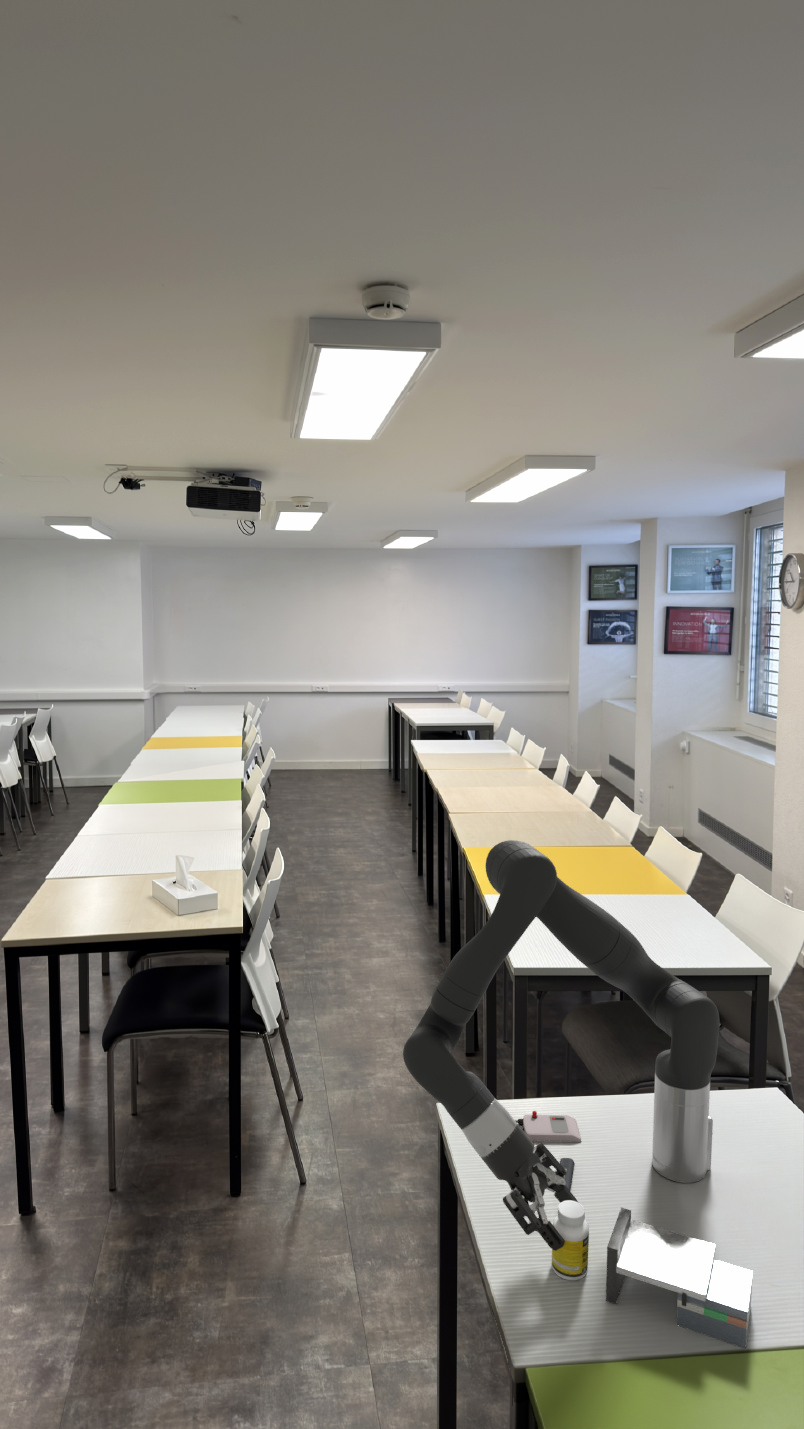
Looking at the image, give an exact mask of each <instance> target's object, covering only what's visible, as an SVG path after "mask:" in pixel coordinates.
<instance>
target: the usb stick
mask: <svg viewBox="0 0 804 1429" xmlns="http://www.w3.org/2000/svg"><path fill="white" fill-rule="evenodd" d="M559 1163H560V1164H561V1165H562V1167H563V1168H564V1169H565V1170H566V1175H565V1176H564V1180H565V1182H566V1187H567V1188H568V1189H569V1190H570V1192H572V1191H571V1190H572V1184H573V1177H574V1171H575V1161H574V1159H573V1158H570V1157H562V1158H560V1160H559Z"/></svg>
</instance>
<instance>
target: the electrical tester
mask: <svg viewBox="0 0 804 1429" xmlns="http://www.w3.org/2000/svg"><path fill="white" fill-rule="evenodd" d="M537 1113H538V1112H537V1111H536V1110H533V1111H532V1113H531V1114H524V1115H523V1118H518V1119H514V1120H515V1121H516V1122H517V1124H518V1125H519V1126H520V1125H522V1127H521V1129H522V1130H523V1131H524V1132H525V1134H526V1135H527V1136H528V1137H529V1139H530V1140H531V1141H532V1142H553V1143H554V1142H559V1143H560V1142H563V1143H564V1142H565V1143H581V1142H582V1137H581V1133H580V1132H581V1131H580V1130H579V1129H580V1128H579V1126H578V1121H577V1120H576V1118H575V1117H574V1116H573V1117H572V1116H570V1115H568V1114H567V1115H566V1114H537Z"/></svg>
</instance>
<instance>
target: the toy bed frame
mask: <svg viewBox="0 0 804 1429" xmlns="http://www.w3.org/2000/svg"><path fill="white" fill-rule="evenodd" d="M715 1253H716V1244H715V1243H712V1242H708V1241H705V1240H702V1239H698V1238H695V1237H691V1236H688V1235H686V1234H682V1233H677V1232H675V1231H671V1230H668V1229H665V1228H661V1227H657V1226H655V1225H651V1224H648V1223H644V1222H642V1221H638V1220H635V1219H632V1209H628V1208H625V1207H620V1210H619V1212H618V1215H617V1218H616V1221H615V1224H614V1227H613V1229H612V1233H611V1236H610V1237H609V1241H608V1244H607V1246H606V1284H605V1301H606V1302H609V1303H612V1304H615V1305H617V1304H618V1302H619V1301H618V1300H619V1298H620V1294H621V1291H622V1287H623V1284H624V1281H625V1278H626V1277H629V1278H632V1279H635V1280H638V1281H641V1282H644V1283H647V1284H650V1285H654V1286H656V1287H659V1288H662V1289H664V1290H665V1289H666V1290H669V1291H672V1292H675V1293H677V1294H678V1293H681V1294H682V1305H683V1306H686V1305H687V1296H690V1297H693V1298H696V1299H699V1300H702V1301H706V1296H707V1290H708V1285H709V1280H710V1274H711V1269H712V1264H713V1259H714V1257H715Z"/></svg>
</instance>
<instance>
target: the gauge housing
mask: <svg viewBox="0 0 804 1429" xmlns="http://www.w3.org/2000/svg"><path fill="white" fill-rule="evenodd" d="M753 1272H754V1271H753V1270H750V1269H747V1268H744V1267H740V1266H737V1265H733V1264H730V1263H727V1262H724V1261H721V1260H717V1259H714V1258H713V1264H712V1269H711V1274H710V1280H709V1285H708V1290H707V1296H706V1301H702V1300H699V1299H696V1298H693V1297H690V1296H687V1305H686V1306H683V1305H682V1294H681V1293H678V1292H677V1301H676V1303H677V1304H676V1308H677V1309H676V1310H677V1311H676V1326H678V1325H679V1326H678V1327H681V1326H682V1328H684V1329H686V1328H688V1329H687V1330H689V1329H690V1330H689V1331H692V1332H695V1333H698V1334H701V1335H705V1336H706V1337H707V1336H708V1337H711V1338H713V1339H716V1340H720V1341H721V1342H722V1341H723V1342H725V1343H727V1344H731V1345H734V1346H737V1347H740V1348H743V1349H746V1348H747V1341H748V1333H749V1332H748V1331H749V1325H750V1324H749V1323H750V1315H751V1310H752V1309H751V1308H752V1291H753V1274H754V1273H753Z"/></svg>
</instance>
